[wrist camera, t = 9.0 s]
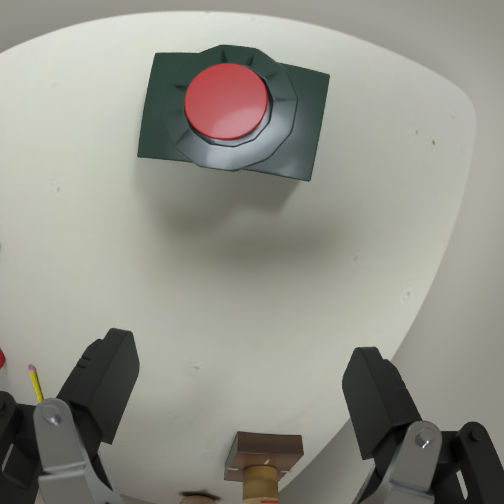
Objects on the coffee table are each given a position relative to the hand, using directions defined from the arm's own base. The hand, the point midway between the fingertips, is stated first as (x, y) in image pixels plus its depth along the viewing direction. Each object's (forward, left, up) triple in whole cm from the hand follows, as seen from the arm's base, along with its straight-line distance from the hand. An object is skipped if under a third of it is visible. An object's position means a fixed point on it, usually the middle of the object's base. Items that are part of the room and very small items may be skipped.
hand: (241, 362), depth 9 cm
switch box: (+6, -7, -10) cm, 14 cm away
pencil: (+10, +39, -11) cm, 42 cm away
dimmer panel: (-20, +22, -10) cm, 32 cm away
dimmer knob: (-20, +22, -7) cm, 31 cm away
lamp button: (+6, -7, -7) cm, 11 cm away
